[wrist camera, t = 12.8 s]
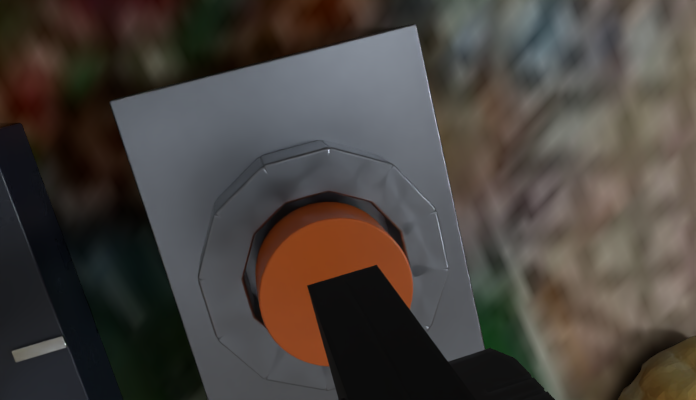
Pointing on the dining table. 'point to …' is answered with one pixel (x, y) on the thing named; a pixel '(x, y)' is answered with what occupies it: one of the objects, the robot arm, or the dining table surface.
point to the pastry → (666, 375)
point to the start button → (319, 269)
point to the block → (294, 195)
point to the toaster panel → (42, 294)
